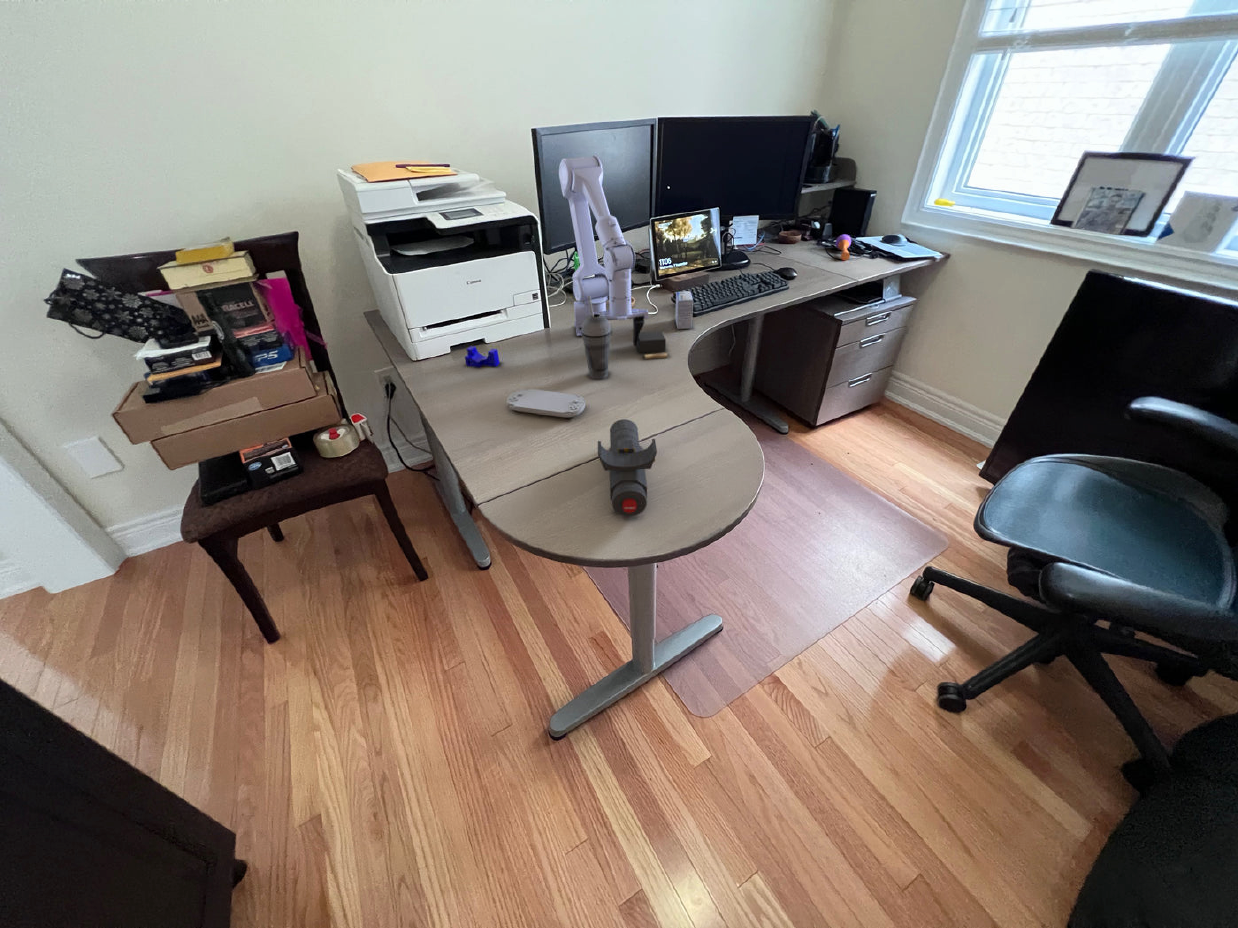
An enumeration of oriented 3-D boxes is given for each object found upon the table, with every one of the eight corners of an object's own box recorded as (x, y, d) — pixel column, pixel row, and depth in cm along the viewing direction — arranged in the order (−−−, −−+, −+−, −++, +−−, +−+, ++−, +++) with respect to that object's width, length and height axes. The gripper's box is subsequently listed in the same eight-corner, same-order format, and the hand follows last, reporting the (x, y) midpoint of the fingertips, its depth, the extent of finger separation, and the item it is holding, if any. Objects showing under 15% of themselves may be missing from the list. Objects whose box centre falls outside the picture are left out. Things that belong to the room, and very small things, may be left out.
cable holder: (466, 365, 130) (463, 351, 128) (473, 359, 133) (470, 346, 131) (493, 369, 128) (490, 355, 126) (499, 363, 131) (497, 349, 128)
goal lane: (645, 359, 131) (645, 356, 130) (638, 338, 141) (638, 336, 141) (667, 357, 131) (667, 355, 131) (658, 337, 142) (658, 335, 141)
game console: (589, 394, 112) (576, 412, 105) (589, 403, 113) (577, 422, 107) (517, 385, 116) (501, 402, 110) (518, 394, 117) (502, 411, 111)
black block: (639, 353, 134) (639, 341, 131) (636, 344, 138) (636, 332, 136) (665, 351, 134) (665, 339, 132) (661, 342, 139) (661, 330, 137)
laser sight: (648, 442, 100) (648, 400, 94) (659, 520, 82) (660, 473, 76) (600, 444, 100) (597, 402, 94) (600, 522, 82) (597, 476, 76)
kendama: (837, 250, 194) (835, 233, 209) (836, 265, 198) (835, 248, 212) (854, 247, 192) (851, 231, 206) (853, 263, 196) (850, 246, 210)
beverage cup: (609, 383, 121) (606, 302, 108) (581, 380, 122) (574, 300, 110) (615, 369, 126) (613, 291, 114) (588, 367, 127) (582, 290, 115)
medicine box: (691, 329, 146) (693, 300, 140) (676, 329, 146) (678, 300, 141) (689, 319, 152) (691, 291, 147) (674, 319, 152) (676, 291, 147)
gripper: (593, 302, 123) (596, 353, 131) (650, 299, 124) (649, 349, 132) (591, 293, 128) (594, 342, 137) (646, 290, 129) (645, 338, 138)
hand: (621, 345), depth 135 cm, fingers open, 7 cm apart
